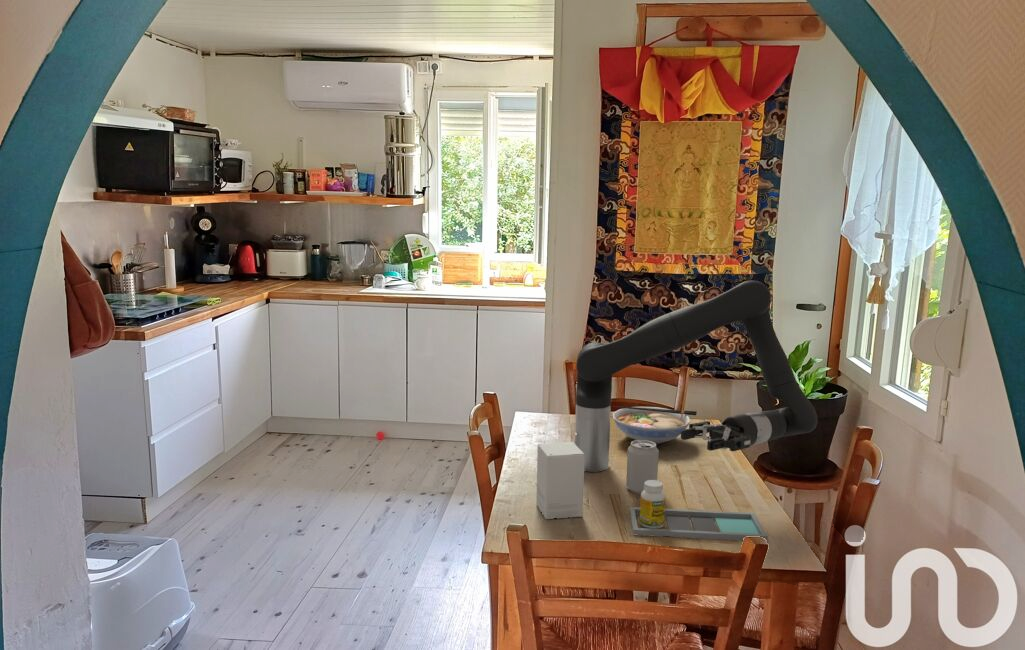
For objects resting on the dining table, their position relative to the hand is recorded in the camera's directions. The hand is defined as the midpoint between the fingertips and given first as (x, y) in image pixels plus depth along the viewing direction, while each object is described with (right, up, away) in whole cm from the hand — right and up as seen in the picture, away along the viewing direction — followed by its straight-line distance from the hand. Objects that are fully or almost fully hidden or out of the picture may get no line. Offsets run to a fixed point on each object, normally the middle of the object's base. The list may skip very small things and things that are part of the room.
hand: (694, 440), depth 169 cm
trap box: (-1, -18, -3) cm, 19 cm away
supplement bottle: (-10, -18, -2) cm, 21 cm away
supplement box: (-30, -17, +4) cm, 35 cm away
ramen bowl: (0, -9, +55) cm, 56 cm away
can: (-9, -15, +17) cm, 25 cm away
